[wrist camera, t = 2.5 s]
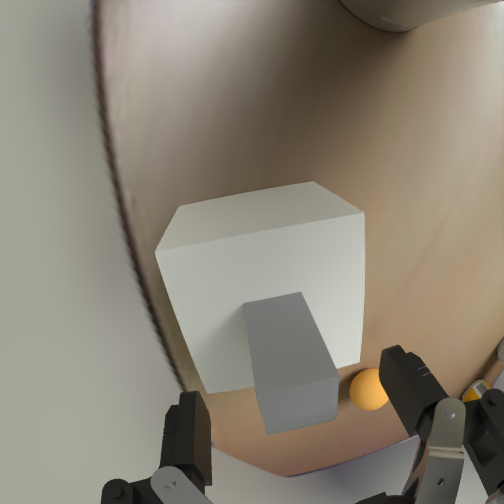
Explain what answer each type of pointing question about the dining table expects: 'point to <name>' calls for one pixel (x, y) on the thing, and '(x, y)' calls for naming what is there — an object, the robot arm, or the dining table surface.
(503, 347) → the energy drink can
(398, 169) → the dining table surface
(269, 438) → the dining table surface
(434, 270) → the dining table surface
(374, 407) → the ball
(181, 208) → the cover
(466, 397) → the yellow white cylinder
